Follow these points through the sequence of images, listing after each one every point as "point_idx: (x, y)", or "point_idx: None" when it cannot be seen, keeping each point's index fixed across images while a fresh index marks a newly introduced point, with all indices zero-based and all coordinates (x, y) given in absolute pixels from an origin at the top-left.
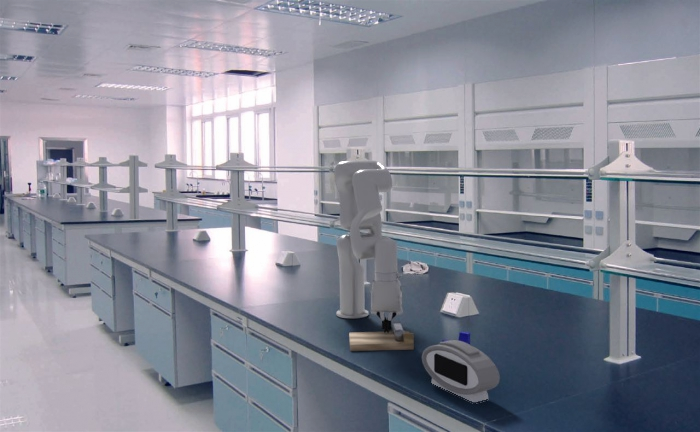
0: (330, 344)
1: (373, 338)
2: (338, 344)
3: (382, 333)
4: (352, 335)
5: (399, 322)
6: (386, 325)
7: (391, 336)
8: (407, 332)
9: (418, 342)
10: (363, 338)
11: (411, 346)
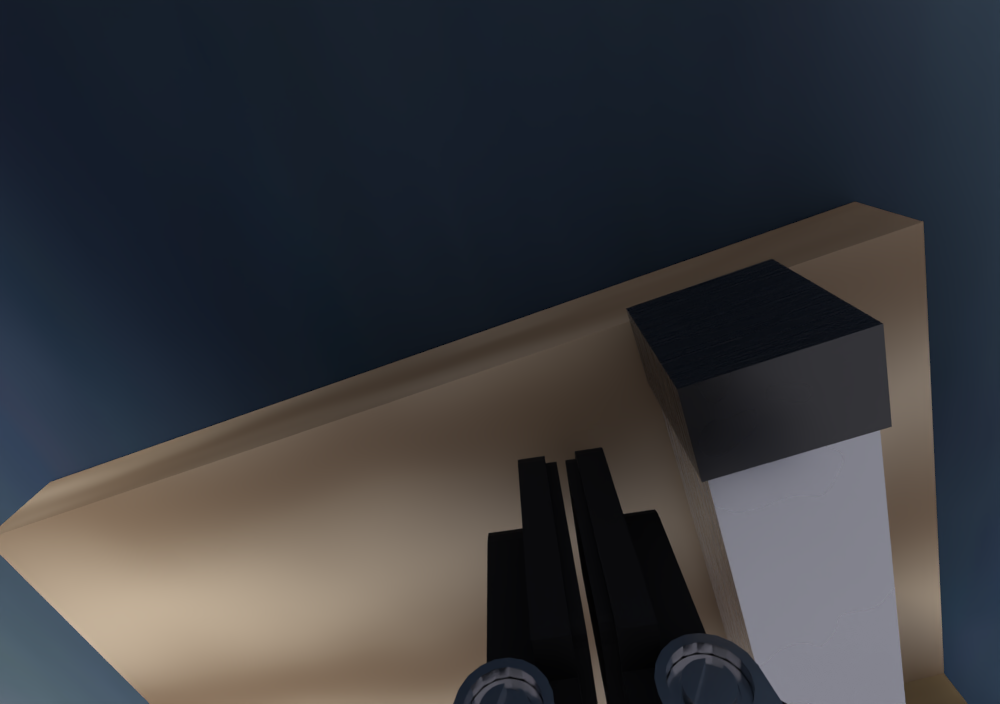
0: (24, 693)
1: (443, 672)
2: (97, 677)
3: (487, 467)
4: (127, 636)
5: (861, 417)
6: (602, 677)
7: None
8: (900, 308)
9: (982, 414)
10: (326, 695)
11: None
